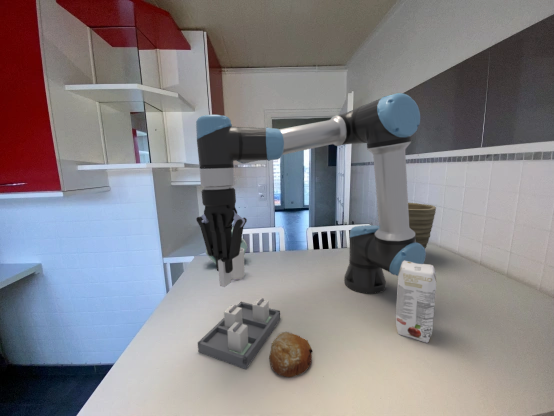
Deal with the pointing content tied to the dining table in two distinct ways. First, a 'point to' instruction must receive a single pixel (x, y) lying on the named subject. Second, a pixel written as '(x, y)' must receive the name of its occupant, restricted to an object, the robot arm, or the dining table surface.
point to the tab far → (260, 310)
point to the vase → (421, 221)
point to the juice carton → (416, 300)
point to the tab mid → (232, 316)
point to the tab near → (237, 337)
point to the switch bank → (257, 335)
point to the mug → (238, 266)
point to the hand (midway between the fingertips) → (225, 283)
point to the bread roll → (290, 355)
